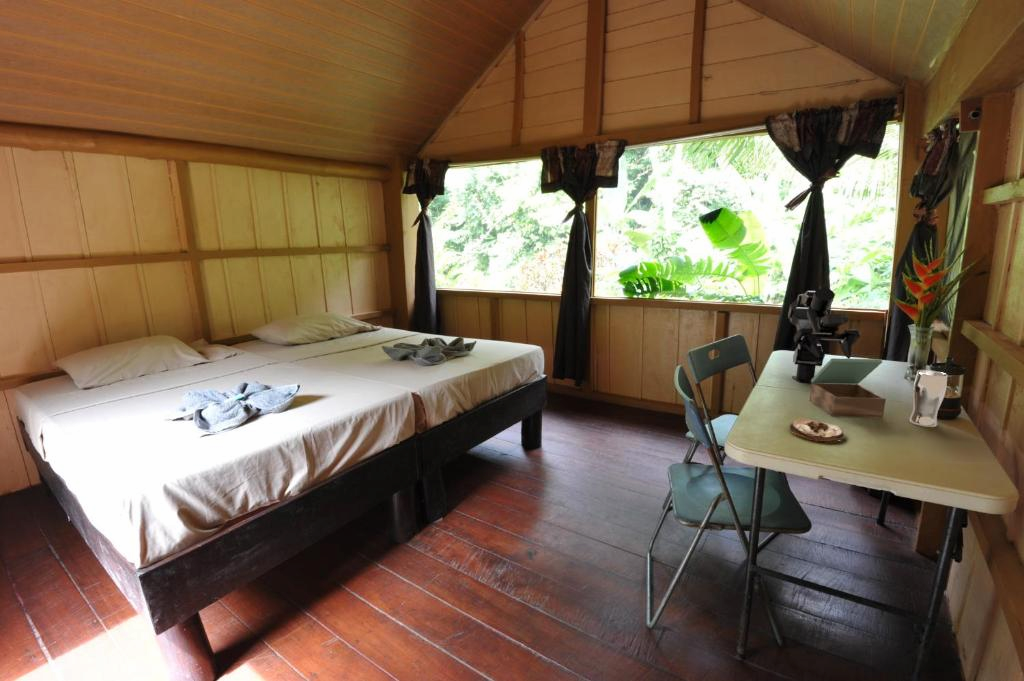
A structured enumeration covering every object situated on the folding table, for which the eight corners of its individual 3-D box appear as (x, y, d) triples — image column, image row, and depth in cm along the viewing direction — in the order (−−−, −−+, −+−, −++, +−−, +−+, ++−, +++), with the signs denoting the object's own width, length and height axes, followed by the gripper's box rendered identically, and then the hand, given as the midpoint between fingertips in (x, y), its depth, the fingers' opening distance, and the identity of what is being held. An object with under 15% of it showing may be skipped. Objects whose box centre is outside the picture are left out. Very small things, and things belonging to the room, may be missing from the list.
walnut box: (809, 400, 159) (811, 383, 158) (855, 402, 158) (857, 384, 157) (832, 416, 146) (835, 397, 144) (882, 418, 144) (885, 399, 143)
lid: (811, 382, 158) (810, 376, 159) (857, 383, 156) (855, 377, 158) (832, 361, 146) (830, 355, 147) (882, 362, 145) (880, 355, 146)
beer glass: (944, 428, 136) (954, 377, 133) (916, 427, 138) (925, 376, 134) (929, 419, 143) (938, 370, 140) (902, 417, 144) (910, 369, 141)
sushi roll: (799, 420, 144) (801, 407, 144) (857, 437, 133) (859, 423, 132) (774, 432, 136) (775, 418, 135) (833, 451, 124) (835, 436, 123)
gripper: (801, 303, 162) (815, 341, 152) (861, 305, 160) (878, 343, 151) (787, 324, 171) (800, 361, 161) (844, 326, 169) (859, 363, 160)
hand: (834, 357), depth 158 cm, fingers open, 9 cm apart
